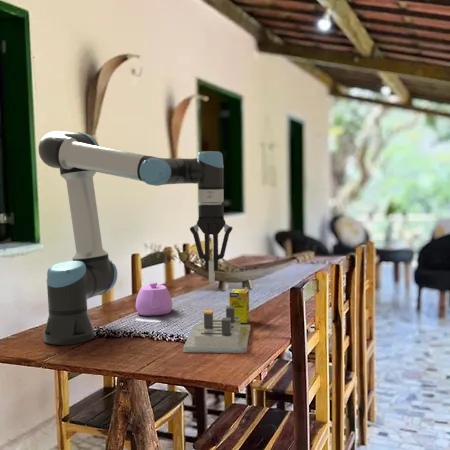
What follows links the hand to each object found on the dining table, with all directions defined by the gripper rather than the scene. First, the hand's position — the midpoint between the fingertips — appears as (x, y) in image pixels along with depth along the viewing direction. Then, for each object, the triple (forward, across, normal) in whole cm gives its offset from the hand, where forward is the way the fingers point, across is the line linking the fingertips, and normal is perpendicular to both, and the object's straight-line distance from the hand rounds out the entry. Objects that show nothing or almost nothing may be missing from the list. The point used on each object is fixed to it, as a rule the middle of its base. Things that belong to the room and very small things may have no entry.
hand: (211, 281), depth 173 cm
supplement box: (+18, +7, +20) cm, 28 cm away
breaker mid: (+14, -1, 0) cm, 14 cm away
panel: (+18, +2, 0) cm, 18 cm away
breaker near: (+14, +5, -7) cm, 16 cm away
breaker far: (+14, +5, +7) cm, 16 cm away
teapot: (+19, -25, +32) cm, 45 cm away
